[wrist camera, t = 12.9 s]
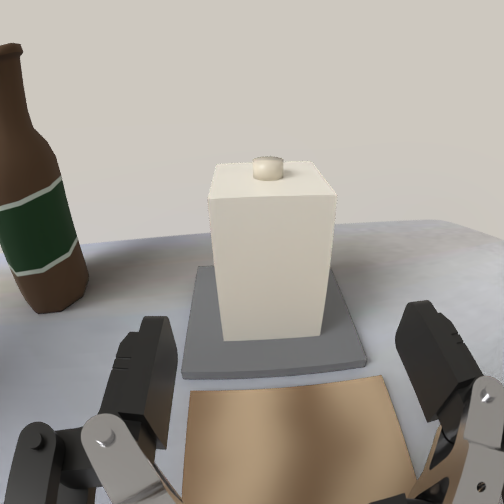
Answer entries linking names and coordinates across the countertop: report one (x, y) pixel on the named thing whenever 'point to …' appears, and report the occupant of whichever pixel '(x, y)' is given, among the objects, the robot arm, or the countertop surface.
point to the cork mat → (295, 446)
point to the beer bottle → (34, 203)
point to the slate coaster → (266, 341)
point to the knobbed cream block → (271, 247)
